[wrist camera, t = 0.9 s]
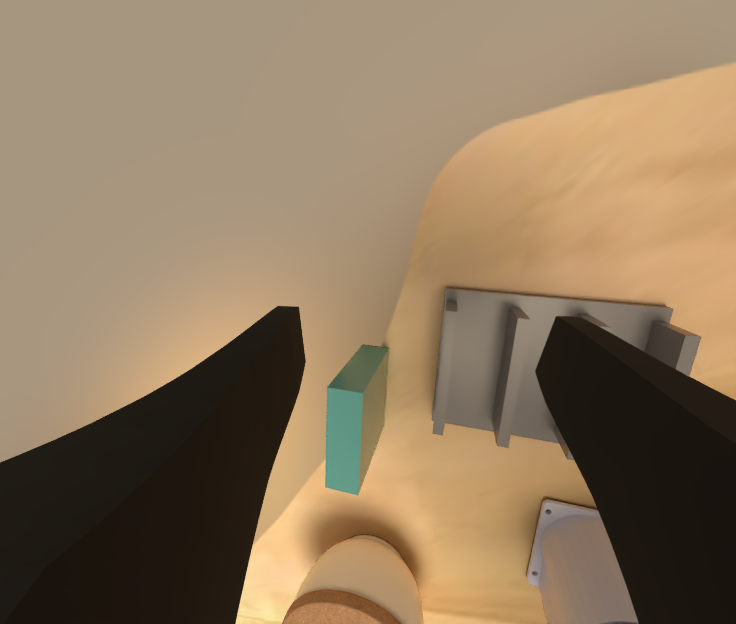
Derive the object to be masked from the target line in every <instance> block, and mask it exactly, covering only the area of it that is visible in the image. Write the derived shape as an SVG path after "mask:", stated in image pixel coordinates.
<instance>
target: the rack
mask: <svg viewBox="0 0 736 624" xmlns="http://www.w3.org/2000/svg"><path fill="white" fill-rule="evenodd" d="M672 312H673V309H672V308H670V307H667V306H655V305H643V304H632V303H620V302H609V301H597V300H585V299H574V298H562V297H550V296H539V295H527V294H516V293H504V292H492V291H481V290H469V289H457V288H446V292H445V301H444V310H443V320H442V329H441V339H440V348H439V357H438V367H437V376H436V385H435V395H434V404H433V414H432V421H434V425H433V434H438V435H443V430H444V423H449V424H454V425H460V426H465V427H471V428H477V429H482V430H488V431H493V432H494V434H495V439H496V444H497V446H502V447H507V448H508V446H509V440H510V435H515V436H521V437H527V438H532V439H538V440H543V441H549V442H554V443H559V444H560V446H561V448H562V450H563V452H564V454H565V456H566V458H567V459H570V460H574V458H573V456H572V454H571V452H570V450H569V448H568V446H567V445H566V443H565V441H564V439H563V437H562V435H561V433H560V431H559V429H558V427H557V425H556V423H555V421H554V419H553V417H552V415H551V413H550V411H549V409H548V407H547V405H546V403H545V400H544V397H543V394H542V392H541V389H540V386H539V383H538V379H537V376H536V373H535V370H536V367H537V364H538V362H539V359H540V357H541V354H542V351H543V349H544V346H545V343H546V341H547V338H548V336H549V333H550V330H551V328H552V325H553V323H554V320H555V317H556V316H571V317H580V318H583V319H585V320H587V321H589V322H591V323H593V324H595V325H597V326H599V327H601V328H603V329H604V330H606V331H608V332H610V333H612V334H614V335H615V336H617V337H619V338H621V339H622V340H624V341H626V342H628V343H629V344H631V345H633V346H635V347H637V348H638V349H640V350H642V351H644V352H645V353H647V354H649V355H651V356H652V357H654V358H656V359H658V360H660V361H661V362H663V363H665V364H667V365H669V366H670V367H672V368H674V369H676V370H678V371H680V372H681V373H683V374H685V375H687V376H689V375H690V372H691V369H692V365H693V362H694V359H695V356H696V353H697V349H698V346H699V343H700V340H701V337H700V336H698V335H696V334H693V333H691V332H688V331H686V330H684V329H681V328H679V327H676V326H674V325H672V324H669V323H670V320H671V316H672Z"/></svg>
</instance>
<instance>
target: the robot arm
mask: <svg viewBox="0 0 736 624" xmlns="http://www.w3.org/2000/svg"><path fill="white" fill-rule="evenodd" d="M305 362H306V361H305V353H304V345H303V338H302V329H301V321H300V313H299V307H288V306H277V307H276V308H274V309H273V310H272V311H270V312H269V313H268V314H266V315H265V316H264V317H262V318H261V319H260V320H258V321H257V322H256V323H255V324H253V325H252V326H251V327H250V328H248V329H247V330H245V331H244V332H243V333H242V334H241V335H239V336H238V337H236V338H235V339H234V340H232V341H231V342H230V343H228V344H227V345H225V346H224V347H223V348H221V349H220V350H218V351H217V352H215V353H214V354H213V355H211V356H209V357H208V358H207V359H205V360H204V361H202V362H201V363H199V364H198V365H196V366H195V367H193V368H192V369H190V370H189V371H187V372H186V373H184V374H182V375H181V376H179V377H177V378H176V379H174V380H173V381H171V382H169V383H167V384H166V385H164V386H162V387H160V388H159V389H157V390H155V391H153V392H152V393H150V394H148V395H146V396H144V397H143V398H141V399H139V400H137V401H135V402H133V403H131V404H129V405H127V406H125V407H123V408H121V409H119V410H117V411H115V412H113V413H111V414H109V415H107V416H105V417H103V418H101V419H99V420H97V421H95V422H93V423H91V424H89V425H87V426H84V427H83V428H80V429H78V430H76V431H73V432H71V433H69V434H67V435H64V436H62V437H60V438H58V439H56V440H53V441H51V442H49V443H46V444H44V445H42V446H39V447H37V448H34V449H32V450H30V451H27V452H25V453H23V454H20V455H18V456H15V457H13V458H11V459H8V460H5V461H3V462H1V463H0V624H235V623H236V618H237V613H238V608H239V604H240V599H241V594H242V590H243V585H244V580H245V576H246V571H247V567H248V562H249V558H250V553H251V549H252V545H253V540H254V536H255V532H256V528H257V524H258V519H259V515H260V511H261V508H262V504H263V500H264V496H265V492H266V488H267V484H268V480H269V477H270V473H271V470H272V467H273V464H274V461H275V458H276V455H277V453H278V450H279V447H280V444H281V441H282V439H283V436H284V433H285V430H286V427H287V425H288V422H289V419H290V416H291V413H292V411H293V408H294V405H295V402H296V399H297V396H298V393H299V390H300V385H301V381H302V376H303V371H304V367H305ZM535 373H536V376H537V379H538V383H539V386H540V389H541V392H542V394H543V397H544V400H545V403H546V405H547V407H548V409H549V411H550V413H551V415H552V417H553V419H554V421H555V423H556V425H557V427H558V429H559V431H560V433H561V435H562V437H563V439H564V441H565V443H566V445H567V446H568V448H569V450H570V452H571V454H572V456H573V458H574V460H575V462H576V464H577V466H578V468H579V470H580V472H581V474H582V476H583V478H584V480H585V482H586V484H587V486H588V488H589V490H590V492H591V495H592V497H593V499H594V501H595V504H596V506H597V509H598V510H595V509H590V508H586V507H581V506H577V505H572V504H567V503H563V502H558V501H554V500H548V499H547V500H544V501H543V502H542V506H541V511H540V516H539V520H538V525H537V530H536V534H535V539H534V544H533V548H532V553H531V558H530V562H529V567H528V572H527V576H526V577H527V582H528V583H529V584H530V585H533V586H536V587H539V590H540V594H541V598H542V602H543V607H544V611H545V615H546V619H547V623H548V624H736V400H734V399H732V398H730V397H728V396H726V395H724V394H722V393H720V392H718V391H716V390H714V389H712V388H710V387H708V386H706V385H704V384H702V383H700V382H699V381H697V380H695V379H693V378H691V377H689V376H687V375H685V374H683V373H681V372H680V371H678V370H676V369H674V368H672V367H670V366H669V365H667V364H665V363H663V362H661V361H660V360H658V359H656V358H654V357H652V356H651V355H649V354H647V353H645V352H644V351H642V350H640V349H638V348H637V347H635V346H633V345H631V344H629V343H628V342H626V341H624V340H622V339H621V338H619V337H617V336H615V335H614V334H612V333H610V332H608V331H606V330H604V329H603V328H601V327H599V326H597V325H595V324H593V323H591V322H589V321H587V320H585V319H583V318H580V317H571V316H556V317H555V320H554V323H553V325H552V328H551V330H550V333H549V336H548V338H547V341H546V343H545V346H544V349H543V351H542V354H541V357H540V359H539V362H538V364H537V367H536V370H535ZM547 509H549V511H546V510H547ZM533 571H535V572H533Z"/></svg>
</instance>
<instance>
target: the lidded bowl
mask: <svg viewBox="0 0 736 624" xmlns="http://www.w3.org/2000/svg"><path fill="white" fill-rule="evenodd" d="M282 624H424V618H423V610H422V602H421V598H420V594H419V590H418V587H417V584H416V582H415V579H414V577H413V575H412V573H411V571H410V570H409V568H408V567H407V565H406V564H405V562H404V561H403V559H402V557H401V555H400V554H399V552H398V551H397V550H396V549H395V548H394V547H393V546H392V545H391V544H389V543H388V542H386V541H385V540H383V539H381V538H378V537H376V536H371V535H357V536H354V537H352V538H350V539H347V540H344V541H342V542H339V543H337V544H335V545H334V546H332V547H331V548H329V549H328V550H327V551H326V552H325V553H324V554H323V555H322V556H321V557H319V558H318V560H317V561H316V562H315V564H314V565H313V566H312V568H311V569H310V571H309V572H308V574H307V576H306V577H305V579H304V581H303V582H302V584H301V586H300V588H299V591H298V593H297V595H296V597H295V599H294V602H293V603H292V605H291V606H290V608H289V609H288V611H287V613H286V616H285V618H284V620H283V623H282Z"/></svg>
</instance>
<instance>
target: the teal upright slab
mask: <svg viewBox="0 0 736 624" xmlns="http://www.w3.org/2000/svg"><path fill="white" fill-rule="evenodd" d="M388 359H389V348H385V347H377V346H369V345H362V346H361V348H360V349H359V350H358V351H357V352H356V353H355V355H354V356H353V357H352V358H351V359H350V361H349V362H348V363H347V364H346V365H345V367H344V368H343V369H342V370H341V371H340V373H339V374H338V375H337V376H336V377H335V379H334V380H333V381H332V382H331V383H330V385H329V386H328V387H327V424H326V479H325V487H326V488H330V489H334V490H338V491H342V492H347V493H351V494H355V495H359V492H360V489H361V486H362V484H363V481H364V478H365V476H366V473H367V470H368V468H369V465H370V462H371V459H372V457H373V454H374V451H375V449H376V446H377V443H378V441H379V438H380V435H381V432H382V430H383V427H384V418H385V404H386V389H387V374H388Z"/></svg>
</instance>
